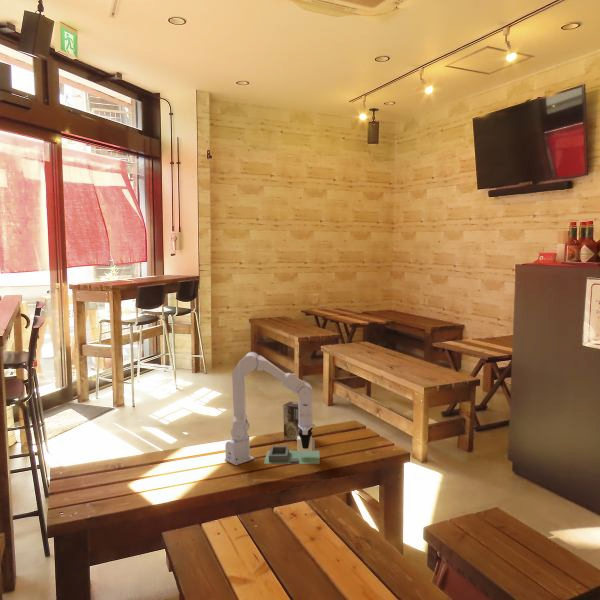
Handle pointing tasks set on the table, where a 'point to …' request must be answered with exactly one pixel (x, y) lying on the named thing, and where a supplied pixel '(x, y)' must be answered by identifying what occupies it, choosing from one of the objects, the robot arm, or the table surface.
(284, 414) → the coffee box
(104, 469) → the table surface
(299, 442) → the plug
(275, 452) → the board
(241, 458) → the robot arm
